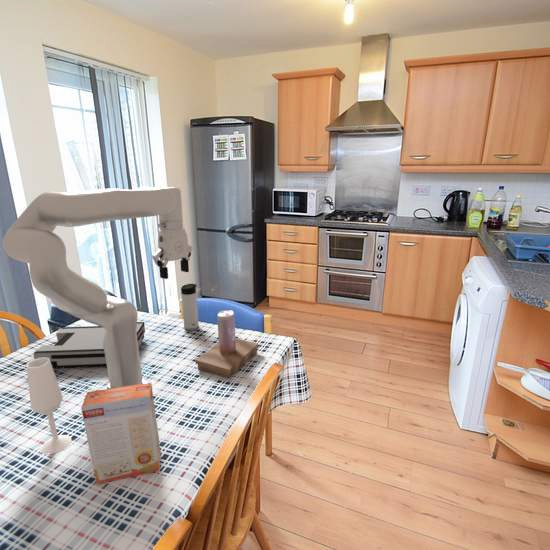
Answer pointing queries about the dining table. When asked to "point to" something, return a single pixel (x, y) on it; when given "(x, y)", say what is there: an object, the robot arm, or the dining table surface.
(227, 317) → the beverage can
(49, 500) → the dining table surface
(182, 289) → the travel mug
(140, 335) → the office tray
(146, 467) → the cracker box
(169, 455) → the dining table surface
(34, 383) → the champagne flute
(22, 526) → the dining table surface
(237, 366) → the brown flat block
